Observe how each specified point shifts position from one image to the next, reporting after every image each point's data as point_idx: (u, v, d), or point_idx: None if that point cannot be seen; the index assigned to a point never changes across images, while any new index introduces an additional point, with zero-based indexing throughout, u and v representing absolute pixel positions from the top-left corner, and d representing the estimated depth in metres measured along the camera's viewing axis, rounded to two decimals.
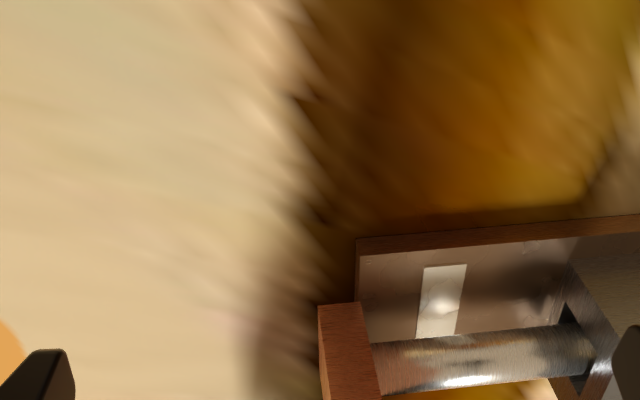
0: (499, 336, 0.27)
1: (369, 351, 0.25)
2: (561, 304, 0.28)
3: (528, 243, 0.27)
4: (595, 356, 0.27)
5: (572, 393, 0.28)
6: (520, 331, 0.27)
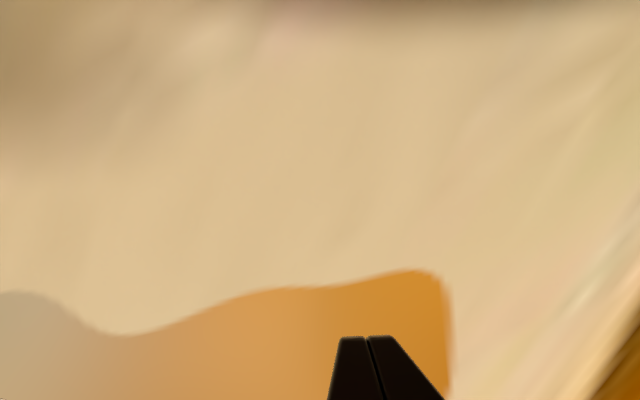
0: None
1: None
2: None
3: None
4: None
5: None
6: None
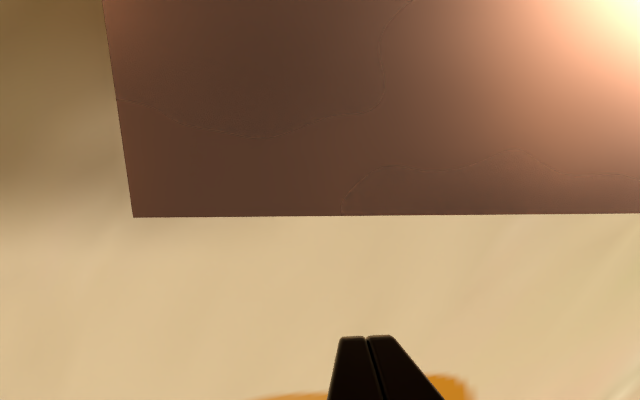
0: None
1: None
2: None
3: None
4: None
5: None
6: None
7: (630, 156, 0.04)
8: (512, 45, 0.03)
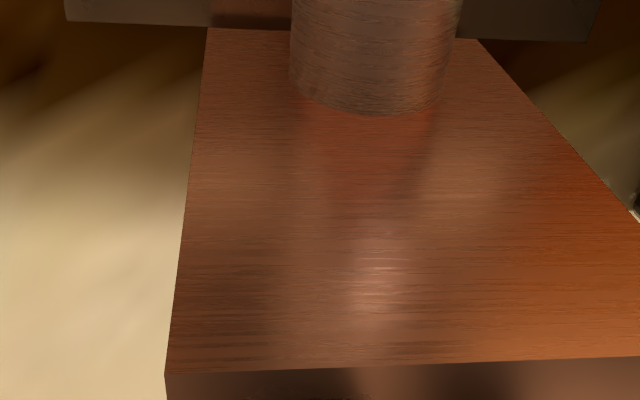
0: None
1: (199, 106, 0.08)
2: None
3: None
4: None
5: None
6: None
7: None
8: None
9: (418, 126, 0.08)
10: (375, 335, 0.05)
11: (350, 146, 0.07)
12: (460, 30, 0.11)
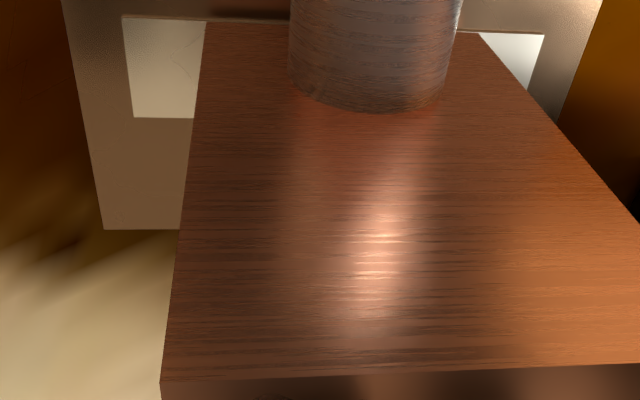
0: None
1: None
2: None
3: None
4: None
5: None
6: None
7: None
8: None
9: (418, 124, 0.08)
10: (371, 343, 0.05)
11: (348, 145, 0.07)
12: None
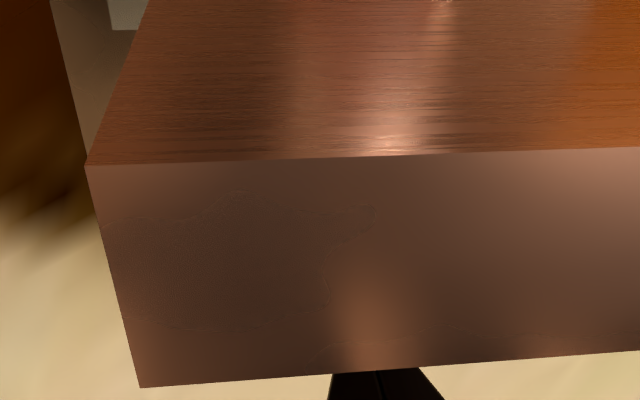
0: None
1: None
2: None
3: None
4: None
5: None
6: None
7: (538, 321, 0.04)
8: (427, 261, 0.04)
9: None
10: (372, 129, 0.04)
11: None
12: None
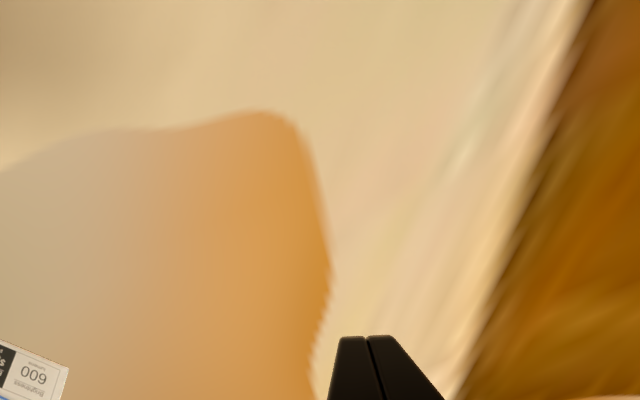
0: None
1: None
2: None
3: None
4: None
5: None
6: None
7: None
8: None
9: None
10: None
11: None
12: None
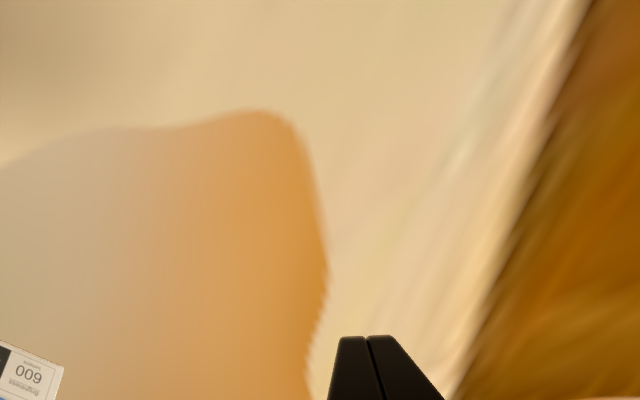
0: None
1: None
2: None
3: None
4: None
5: None
6: None
7: None
8: None
9: None
10: None
11: None
12: None
